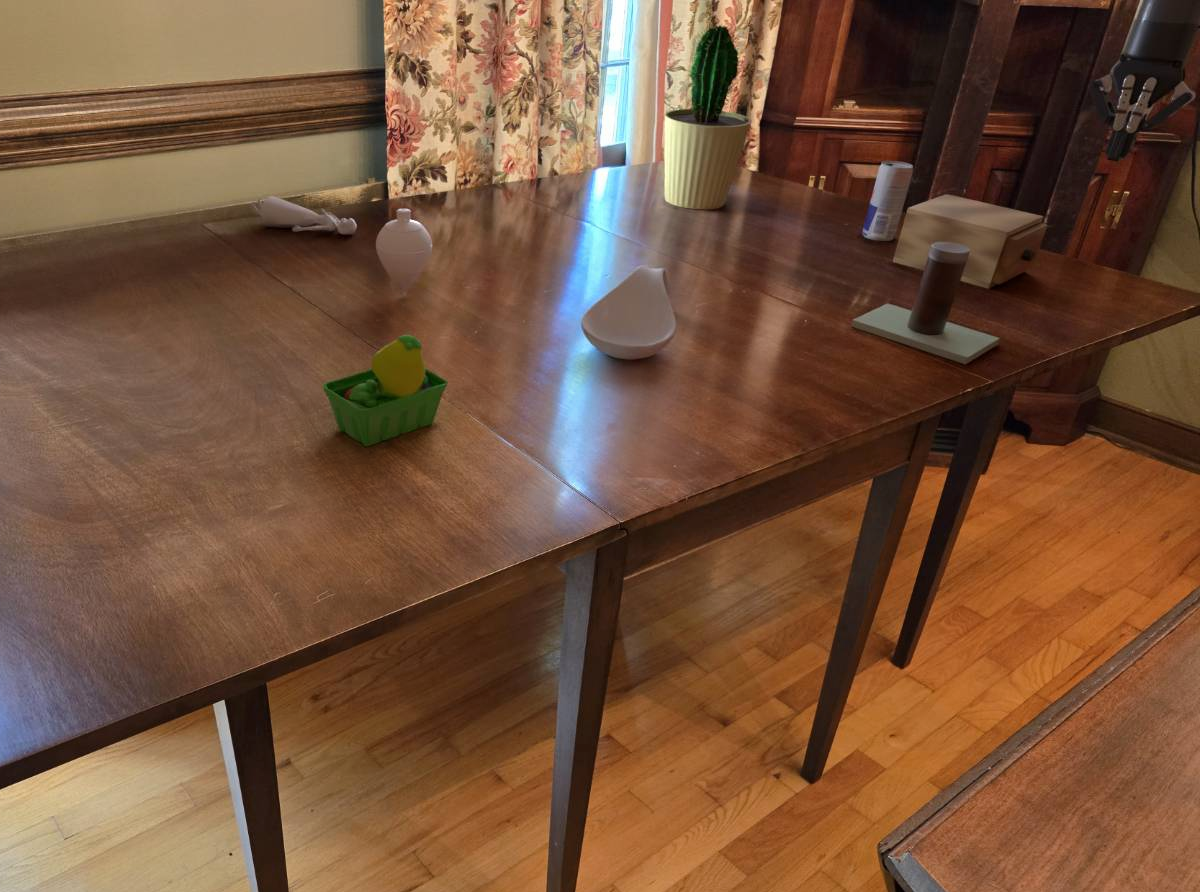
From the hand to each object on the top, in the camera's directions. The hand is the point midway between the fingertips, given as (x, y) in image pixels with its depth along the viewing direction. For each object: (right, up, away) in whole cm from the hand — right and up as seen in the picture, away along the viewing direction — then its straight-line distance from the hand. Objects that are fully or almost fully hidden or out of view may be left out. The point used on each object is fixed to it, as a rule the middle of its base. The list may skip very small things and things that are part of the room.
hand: (1115, 160), depth 132 cm
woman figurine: (-116, -1, +27) cm, 119 cm away
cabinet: (-10, -8, +23) cm, 26 cm away
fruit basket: (-97, -41, -29) cm, 109 cm away
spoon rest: (-67, -25, -5) cm, 72 cm away
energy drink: (-18, 0, +35) cm, 39 cm away
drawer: (-9, -8, +21) cm, 24 cm away
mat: (-27, -25, -2) cm, 37 cm away
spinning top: (-98, -18, +3) cm, 100 cm away
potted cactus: (-47, +12, +49) cm, 69 cm away
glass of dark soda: (-27, -24, -3) cm, 36 cm away
